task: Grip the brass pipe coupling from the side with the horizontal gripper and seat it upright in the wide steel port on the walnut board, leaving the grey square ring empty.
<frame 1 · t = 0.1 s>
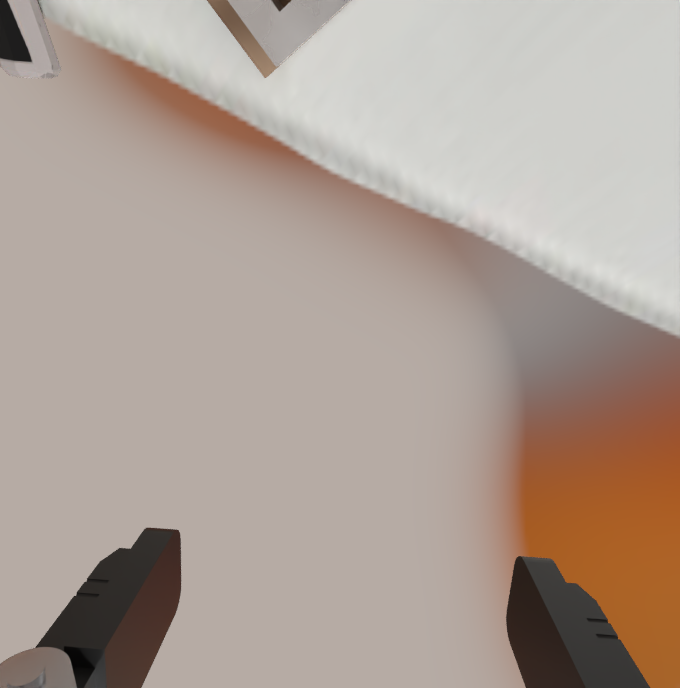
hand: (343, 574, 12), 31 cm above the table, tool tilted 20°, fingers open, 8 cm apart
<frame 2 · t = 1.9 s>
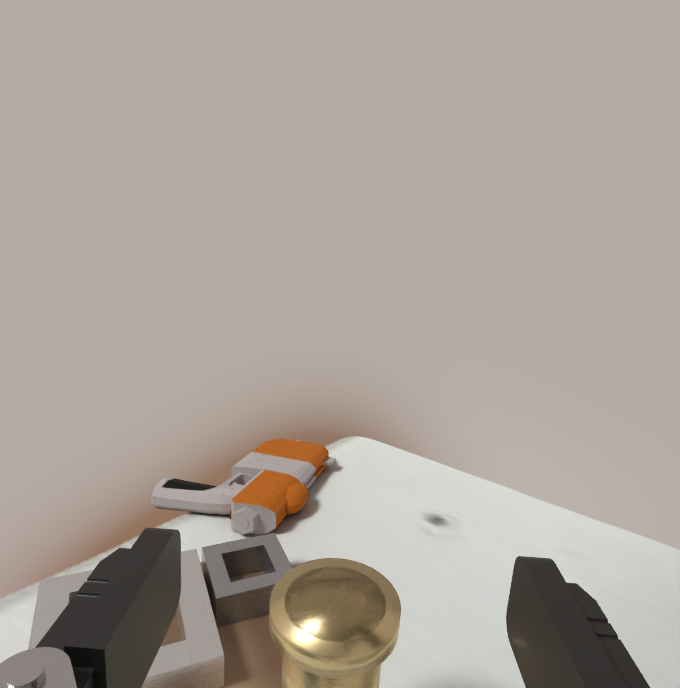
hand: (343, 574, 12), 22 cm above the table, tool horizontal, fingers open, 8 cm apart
wide steel port: (127, 657, 35), resting on walnut board
walnut board: (181, 648, 36), on the table
grey square ring: (247, 600, 41), resting on walnut board
toy gun: (255, 488, 59), on the table
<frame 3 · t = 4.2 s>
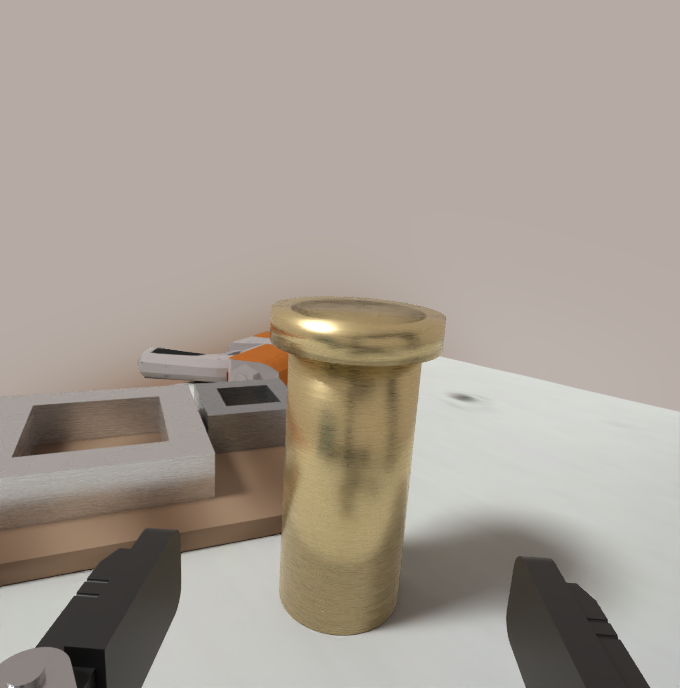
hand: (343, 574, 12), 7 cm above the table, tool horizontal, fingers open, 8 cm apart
wide steel port: (100, 479, 29), resting on walnut board
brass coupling: (338, 588, 22), on the table
walnut board: (165, 475, 30), on the table
grey square ring: (246, 443, 35), resting on walnut board
toy gun: (255, 371, 53), on the table
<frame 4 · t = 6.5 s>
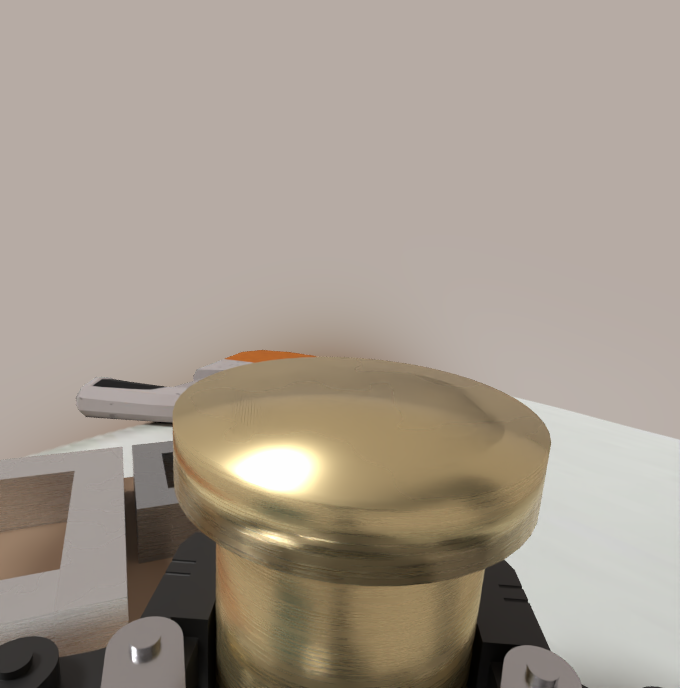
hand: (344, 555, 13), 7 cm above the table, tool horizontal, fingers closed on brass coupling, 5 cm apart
walnut board: (73, 597, 20), on the table
grey square ring: (203, 530, 25), resting on walnut board
toy gun: (227, 402, 44), on the table
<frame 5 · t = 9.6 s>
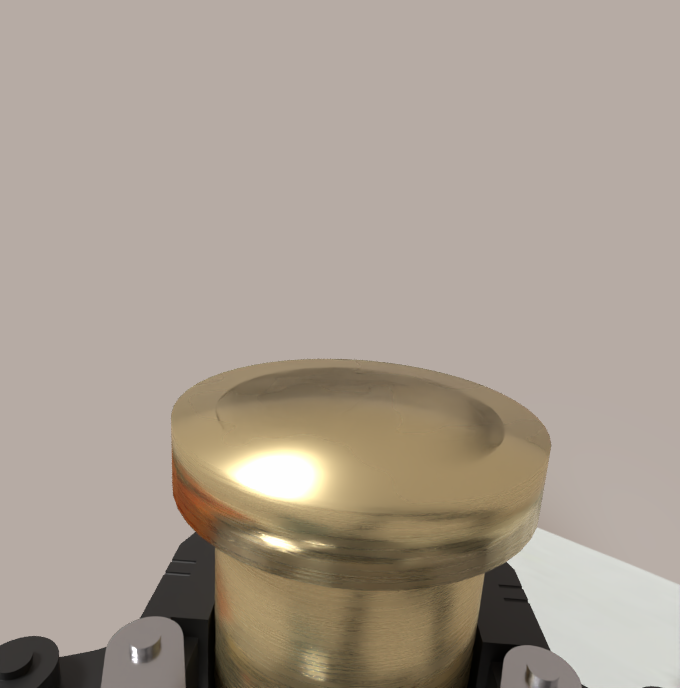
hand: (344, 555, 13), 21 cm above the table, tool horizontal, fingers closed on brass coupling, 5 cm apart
when the fingers open (10 cm above the table, at t = 12.5 s): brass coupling drops 2 cm, resting on walnut board.
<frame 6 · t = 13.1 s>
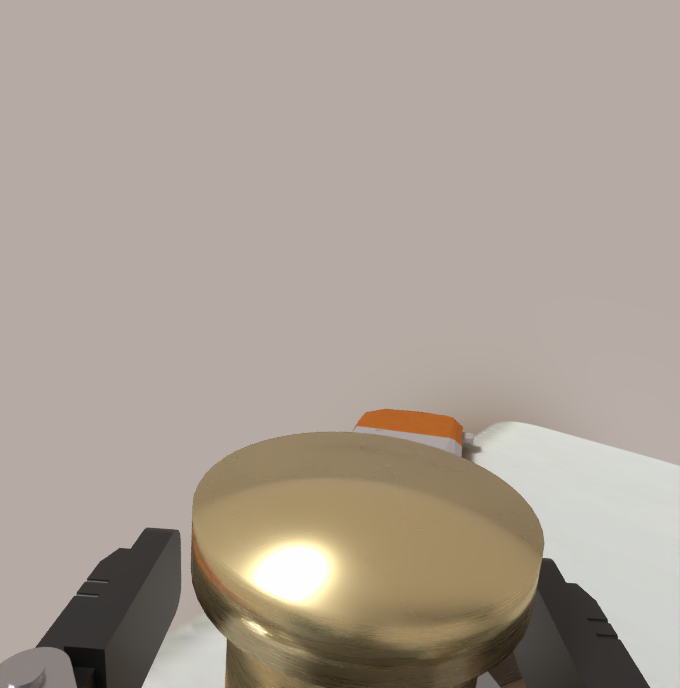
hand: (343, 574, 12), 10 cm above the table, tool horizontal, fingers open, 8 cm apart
toy gun: (372, 480, 38), on the table
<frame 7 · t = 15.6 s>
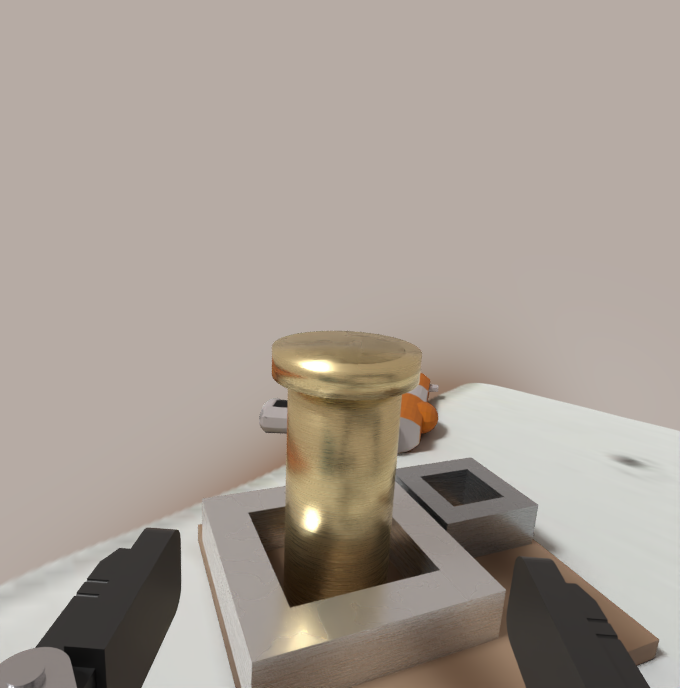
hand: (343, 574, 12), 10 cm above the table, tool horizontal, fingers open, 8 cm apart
wide steel port: (333, 601, 25), resting on walnut board
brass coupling: (334, 585, 25), point 1 cm above the table, touching walnut board
walnut board: (399, 592, 26), on the table
grey square ring: (454, 538, 31), resting on walnut board
toy gun: (361, 415, 52), on the table
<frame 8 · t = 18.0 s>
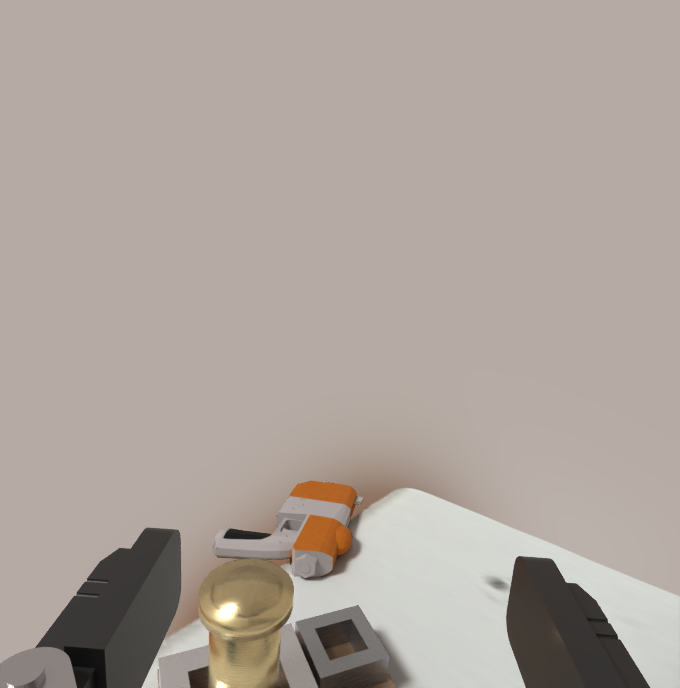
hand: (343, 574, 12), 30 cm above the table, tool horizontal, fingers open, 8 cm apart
grey square ring: (338, 672, 45), resting on walnut board
toy gun: (297, 530, 65), on the table
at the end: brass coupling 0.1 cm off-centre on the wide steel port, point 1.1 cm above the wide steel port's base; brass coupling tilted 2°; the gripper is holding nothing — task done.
